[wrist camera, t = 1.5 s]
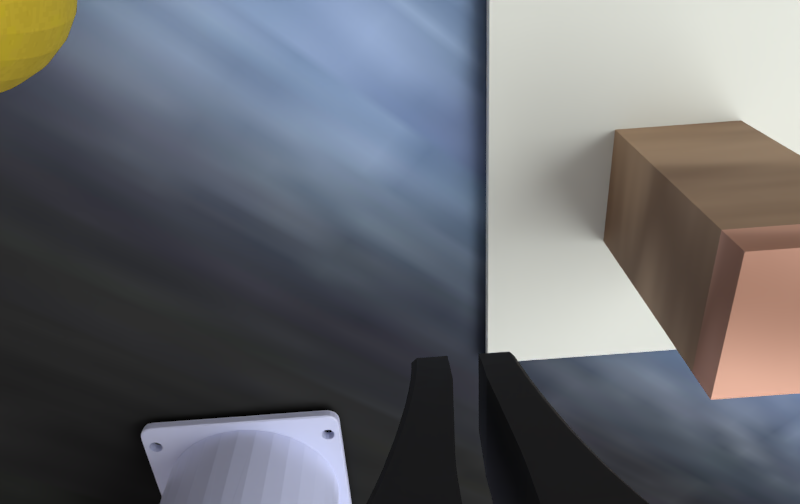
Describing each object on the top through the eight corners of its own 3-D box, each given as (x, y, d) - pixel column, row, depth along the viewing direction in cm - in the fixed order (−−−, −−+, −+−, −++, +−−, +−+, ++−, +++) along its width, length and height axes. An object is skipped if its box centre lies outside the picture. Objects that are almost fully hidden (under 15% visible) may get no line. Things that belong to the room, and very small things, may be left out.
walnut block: (718, 232, 22) (879, 387, 15) (603, 241, 22) (710, 399, 15) (741, 120, 20) (938, 237, 13) (615, 129, 20) (744, 251, 13)
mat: (943, 321, 25) (953, 329, 24) (485, 355, 25) (487, 363, 24) (1116, -82, 18) (1134, -81, 18) (486, -36, 18) (489, -34, 18)
